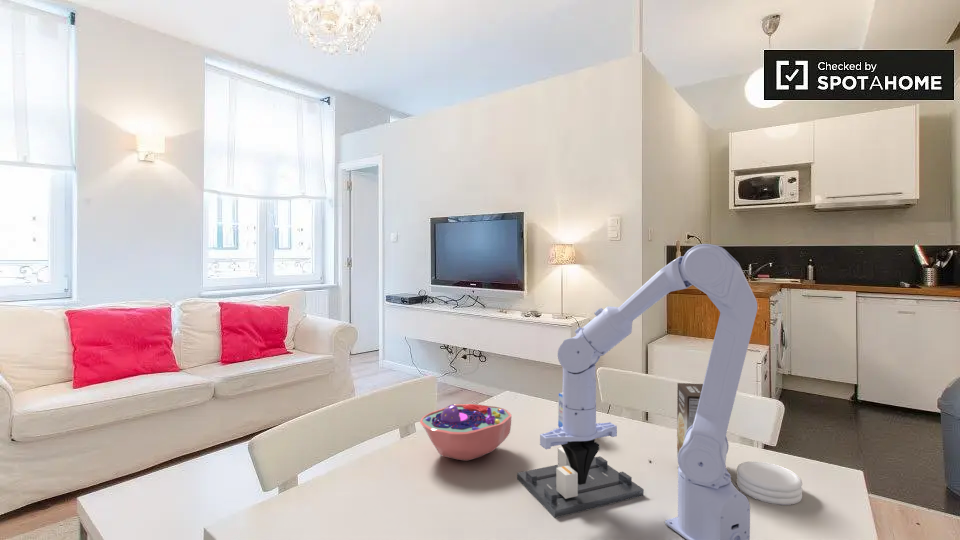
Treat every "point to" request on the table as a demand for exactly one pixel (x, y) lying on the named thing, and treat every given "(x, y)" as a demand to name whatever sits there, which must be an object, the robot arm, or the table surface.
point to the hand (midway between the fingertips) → (579, 481)
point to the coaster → (769, 482)
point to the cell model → (467, 430)
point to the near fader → (567, 481)
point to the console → (580, 488)
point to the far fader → (562, 458)
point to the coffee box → (686, 409)
